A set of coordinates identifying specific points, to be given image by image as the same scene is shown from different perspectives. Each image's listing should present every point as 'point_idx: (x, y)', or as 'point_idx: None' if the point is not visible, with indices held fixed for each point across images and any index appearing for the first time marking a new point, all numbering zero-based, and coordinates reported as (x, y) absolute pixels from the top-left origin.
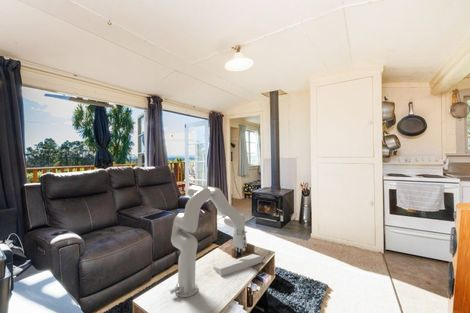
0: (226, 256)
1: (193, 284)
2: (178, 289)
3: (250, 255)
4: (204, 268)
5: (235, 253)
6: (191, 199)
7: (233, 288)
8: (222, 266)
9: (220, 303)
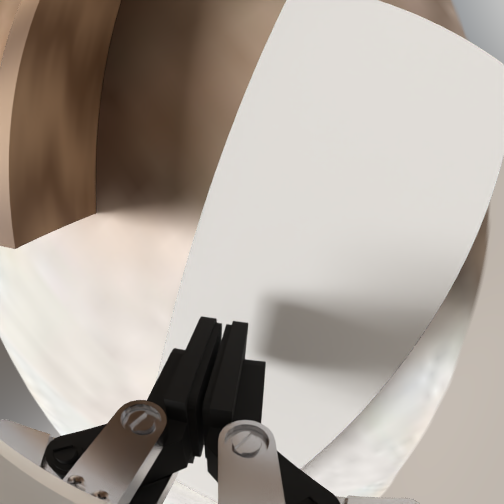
0: (40, 246)
1: None
2: None
3: (308, 42)
4: None
5: (66, 179)
6: None
7: (370, 486)
8: (211, 484)
9: None
